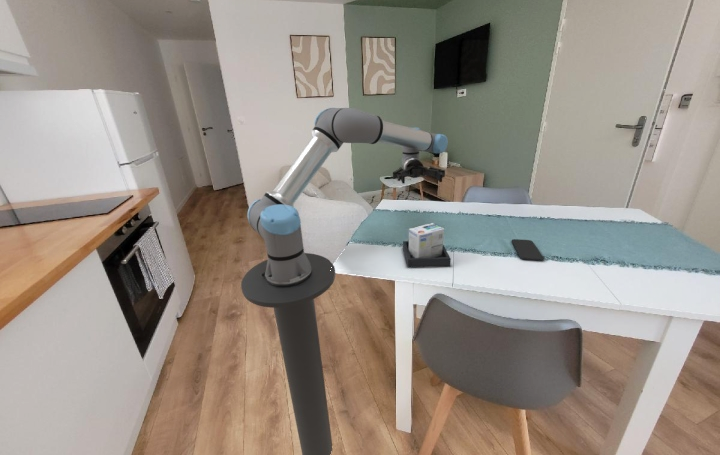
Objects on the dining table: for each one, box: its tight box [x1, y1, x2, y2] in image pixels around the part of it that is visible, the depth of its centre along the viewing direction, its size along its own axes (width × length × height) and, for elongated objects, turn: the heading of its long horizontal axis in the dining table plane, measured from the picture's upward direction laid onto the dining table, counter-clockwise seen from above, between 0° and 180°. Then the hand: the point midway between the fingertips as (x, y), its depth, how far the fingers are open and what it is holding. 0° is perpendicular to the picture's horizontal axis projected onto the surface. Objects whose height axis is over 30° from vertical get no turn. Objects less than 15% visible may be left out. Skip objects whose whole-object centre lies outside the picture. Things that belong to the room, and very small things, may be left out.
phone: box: [511, 238, 545, 262], centre depth 106 cm, size 7×1×15 cm
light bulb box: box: [408, 222, 445, 258], centre depth 103 cm, size 11×7×11 cm, turn 115°
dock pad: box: [402, 240, 452, 268], centre depth 105 cm, size 14×14×3 cm
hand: (422, 179), depth 106 cm, fingers open, 13 cm apart
